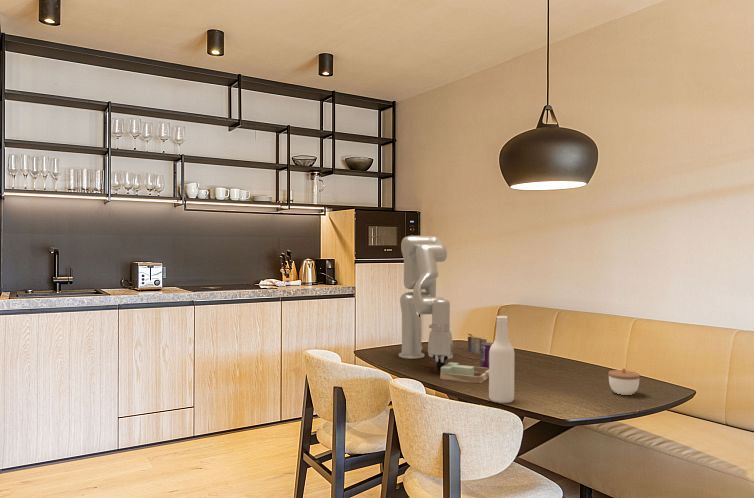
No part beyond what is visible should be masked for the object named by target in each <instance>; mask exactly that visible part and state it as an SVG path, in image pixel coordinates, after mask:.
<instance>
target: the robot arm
mask: <svg viewBox="0 0 754 498" xmlns="http://www.w3.org/2000/svg"><path fill="white" fill-rule="evenodd" d="M400 246H401V247H400V249H401V254H402V257H403V286H404V287H405V289H407V290H412V291H408V292H404V293H402V294H401V296H400V298H399V303H400V304H399V306H400V309H401V352H399V353H398V357H399V358H402V359H407V360H408V359H409V360H410V359H411V360H413V359H415V360H416V359H422V358H424V357H425V353H423V352H422V350H423V346H422V319H421V317H420V316H419V315H423V316H424V315H431V324H429V325H428V327H429V329H431V330H430V331H429V334H428V342H427V343H428V344H427V345H428V346H427V352H428V357H431V358H432V359H434V361H435V362H436V370H437V372H440V373H441V367H443V366H444V365H446V363H445V362H446V361H447V360H449V359H453V357H454V355H453V352H454V343H453V336H452V335H453V334H452V331H451V329H450V328H451V324H450V322H451V321H450V319H451V314H450V311H451V307H450V306H451V305H450V301H449V300H448V299H446V298H444V297H441V296H436V295H437V278H438V276H439V271H438V265H437V263H443V262H445V261H446V260H447V258H448V252H447V248H446V245H444V243H443V242H442V241H441V240H440V239H439V238H438V237H437V236H434V235H408V236H405V237H404V238H402V240H401V244H400ZM421 290H424V291H421Z"/></svg>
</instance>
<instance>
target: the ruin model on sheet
mask: <svg viewBox="0 0 754 498" xmlns="http://www.w3.org/2000/svg"><path fill="white" fill-rule="evenodd" d="M467 335H468V336H467V351H468V352H469V351H470V352H472V353H475V354H479V355H480V347H481V345H482V344H481V343H488V342H487V341H488V340H487V339H485V338H481V337H477V336H474V335H472V333H467Z"/></svg>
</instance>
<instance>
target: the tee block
mask: <svg viewBox="0 0 754 498" xmlns="http://www.w3.org/2000/svg"><path fill="white" fill-rule="evenodd" d="M462 365H463V364H459V362H451V361H450V362H448V363H445V365H444V366H443V367H441V372H442V373H451V374H460V375H469V376H475V373H474V367H472V366H473V365H472V366H471V365H465V366H462ZM441 372H440V373H441Z"/></svg>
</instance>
